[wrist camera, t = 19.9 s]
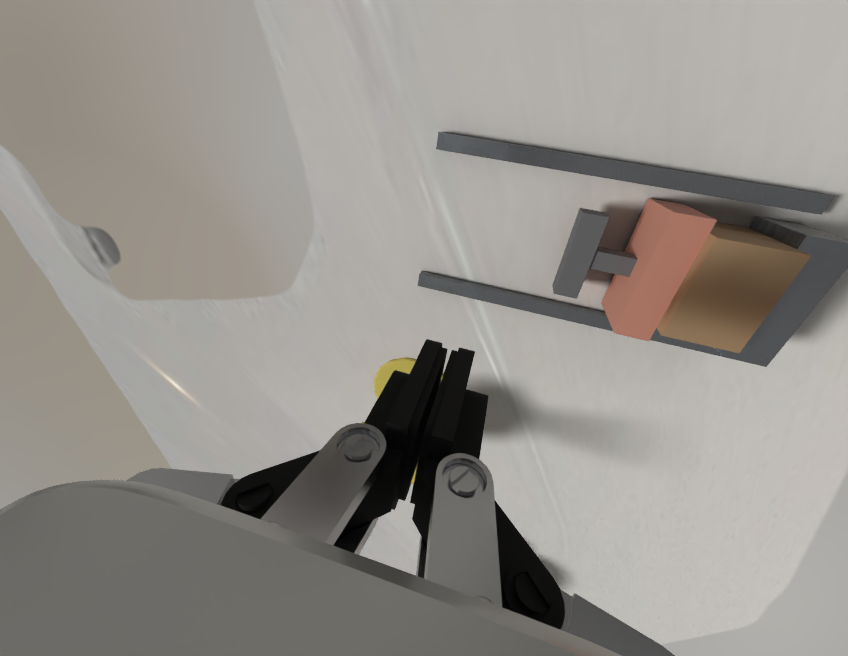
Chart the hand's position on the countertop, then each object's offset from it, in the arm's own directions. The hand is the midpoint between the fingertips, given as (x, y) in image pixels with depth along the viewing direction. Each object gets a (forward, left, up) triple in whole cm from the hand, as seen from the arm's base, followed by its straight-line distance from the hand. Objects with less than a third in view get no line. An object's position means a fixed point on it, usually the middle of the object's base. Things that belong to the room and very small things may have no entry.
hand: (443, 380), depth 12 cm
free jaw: (0, +9, -22) cm, 24 cm away
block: (0, +16, -22) cm, 27 cm away
